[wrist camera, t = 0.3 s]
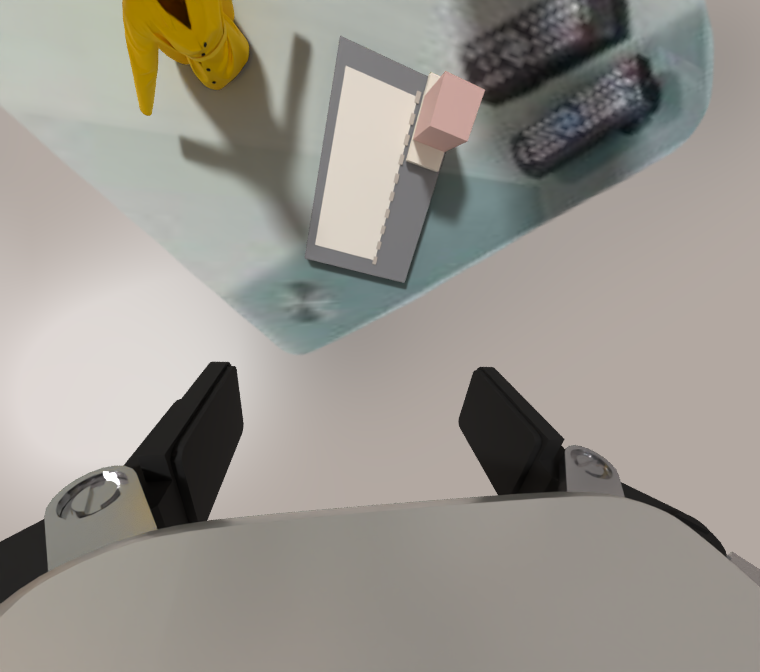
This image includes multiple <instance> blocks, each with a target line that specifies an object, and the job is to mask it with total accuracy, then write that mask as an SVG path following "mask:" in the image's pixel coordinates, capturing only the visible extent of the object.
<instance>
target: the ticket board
mask: <svg viewBox="0 0 760 672" xmlns="http://www.w3.org/2000/svg"><path fill="white" fill-rule="evenodd" d="M427 80H428V76H426V75H423V74H421V73H419V72H417V71H415V70H413V69H411V68H408V67H406V66H404V65H402V64H400V63H398V62H396V61H393V60H391V59H389V58H387V57H385V56H383V55H381V54H378V53H376V52H374V51H372V50H370V49H368V48H366V47H363V46H361V45H359V44H357V43H355V42H353V41H350V40H348V39H346V38H344V37H342V36H340V40H339V47H338V53H337V59H336V65H335V72H334V78H333V84H332V90H331V97H330V103H329V109H328V115H327V122H326V128H325V134H324V140H323V147H322V153H321V159H320V165H319V172H318V178H317V184H316V190H315V197H314V203H313V209H312V215H311V222H310V228H309V234H308V240H307V247H306V253H305V259H309V260H314V261H318V262H322V263H326V264H330V265H334V266H338V267H342V268H346V269H350V270H354V271H358V272H362V273H366V274H370V275H374V276H379V277H383V278H387V279H391V280H395V281H399V282H403V283H405V280H406V277H407V273H408V270H409V267H410V264H411V261H412V258H413V255H414V251H415V248H416V245H417V242H418V239H419V236H420V232H421V229H422V226H423V223H424V220H425V217H426V213H427V210H428V207H429V204H430V201H431V198H432V194H433V191H434V188H435V185H436V182H437V179H438V175H439V172H440V169H441V166H442V163H443V160H444V157H445V153H446V152H444V156H443V159H442V162H441V165H440V168H439V171H438V172H435V171H432V170H429V169H426V168H424V167H421V166H418V165H416V164H413V163H410V162H407V161H406V158H407V154H408V151H409V147H410V143H411V139H412V136H413V132H414V128H415V124H416V121H417V117H418V113H419V110H420V106H421V102H422V98H423V95H424V91H425V87H426V84H427Z"/></svg>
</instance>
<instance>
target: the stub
mask: <svg viewBox="0 0 760 672" xmlns="http://www.w3.org/2000/svg"><path fill="white" fill-rule="evenodd" d="M484 91H485V90H484V89H482V88H480V87H478V86H476V85H474V84H472V83H470V82H468V81H466V80H464V79H461V78H459V77H457V76H455V75H453V74H451V73H449V72H447V71H445V72H444V73H443V75H442V76H438V75H436V74H434V73H432V72H431V73H430V74H429V76H428V80H427V84H426V87H425V91H424V95H423V98H422V102H421V106H420V110H419V113H418V117H417V121H416V124H415V128H414V132H413V136H412V139H411V143H410V147H409V151H408V154H407V158H406V161H407V162H410V163H413V164H416V165H418V166H421V167H424V168H426V169H429V170H432V171H435V172H438V171H439V168H440V165H441V162H442V159H443V156H444V152H446V151H448V150H450V149H452V148H454V147H456V146H459V145H461V144H463V143H465V142H467V141H468V138H469V135H470V132H471V129H472V127H473V124H474V121H475V118H476V115H477V112H478V109H479V106H480V103H481V100H482V97H483V94H484Z"/></svg>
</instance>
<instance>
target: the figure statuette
mask: <svg viewBox="0 0 760 672" xmlns="http://www.w3.org/2000/svg"><path fill="white" fill-rule="evenodd" d="M122 7H123V22H124V28H125V38H126V43H127V48H128V53H129V57H130V63H131V67H132V72H133V76H134V83H135V88H136V92H137V97H138V101H139V107H140V110H141V112H142V113H143V114H145V115H147V116H150V115H151V114H152V109H153V103H154V96H155V87H156V78H157V71H158V49H160V50H161V51H162V52H163V53H165V54H166V55H167V56H168V57H170V58H171V59H173V60H175V61H177V62H179V63H181V64H190V66H191V68H192V70H193V72H194V74H195V75H196V76H197V78H198V79H199V80H200V81H201V82H202V83H203V84H204V85H205V86H206V87H208V88H210V89H214V90H220V89H222V88H223V87H224V86H226V85H227V84H228V83H229V82H230V81H232V80H233V79H234V78H235V77H236V76H237V75H238V74H239V72H240V71H241V69H242V68H243V66H244V65H245V64H246V62H247V61H248V58H249V44H248V42H247V40H246V38H245V37H244V35H243V34H242V33H241V32H240V30H239V29H238V28H237V26H236V25H235V24H234V22H233V21H234V9H233V4H232V0H123V2H122Z"/></svg>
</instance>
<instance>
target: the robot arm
mask: <svg viewBox="0 0 760 672" xmlns="http://www.w3.org/2000/svg"><path fill="white" fill-rule="evenodd" d="M459 427H460V429H461V430H462V432H463V434H464V436H465V437H466V439H467V441H468V443H469V445H470V446H471V448H472V450H473V452H474V453H475V455H476V457H477V458H478V460H479V462H480V464H481V466H482V467H483V469H484V471H485V473H486V475H487V476H488V478H489V480H490V482H491V484H492V485H493V487H494V489H495V491H496V492H497V494H498V495H497V496H484V497H470V498H457V499H444V500H431V501H419V502H407V503H394V504H382V505H371V506H358V507H346V508H335V509H323V510H311V511H300V512H288V513H277V514H267V515H257V516H247V517H238V518H228V519H218V520H209V521H207V520H208V517H209V514H210V512H211V510H212V507H213V504H214V502H215V500H216V497H217V494H218V492H219V489H220V487H221V485H222V482H223V480H224V477H225V475H226V472H227V469H228V467H229V465H230V462H231V460H232V457H233V455H234V452H235V450H236V447H237V445H238V442H239V440H240V437H241V435H242V431H243V416H242V408H241V400H240V392H239V385H238V377H237V369H236V367H235V366H231V364H230V363H229V362H210V363H209V365H208V366H207V367H206V368H205V370H204V371H203V372H202V373H201V375H200V376H199V377H198V378H197V380H196V381H195V382H194V383H193V385H192V386H191V387H190V389H189V390H188V391H187V392H186V394H185V395H184V396H183V397H182V399H179V400H177V401H176V402H175V403H174V404H173V405H172V406H171V407H170V409H169V410H168V411H167V413H166V414H165V415H164V416H163V417H162V419H161V420H160V421H159V422H158V424H157V425H156V426H155V427H154V429H153V430H152V431H151V432H150V433H149V435H148V436H147V437H146V438H145V440H144V441H143V442H142V443H141V445H140V446H139V447H138V448H137V450H136V451H135V452H134V453H133V455H132V456H131V457H130V458H129V460H128V461H127V462H126V463H125V465H124V466H111V467H106V468H101V469H99V470H96V471H93V472H90V473H88V474H86V475H84V476H82V477H80V478H78V479H76V480H75V481H73V482H72V483H70V484H69V485H68V486H66V487H65V488H63V489H62V490H61V491H60V492H59V493H58V494H57V495H56V496H55V497H54V498H53V499H52V500H51V502H50V503H49V505H48V507H47V508H46V512H45V516H44V519H43V520H41V521H39V522H38V523H36V524H34V525H32V526H30V527H28V528H26V529H24V530H22V531H20V532H18V533H16V534H14V535H12V536H11V537H9V538H7V539H5V540H3V541H1V542H0V672H760V569H758V568H757V567H755V566H754V565H752V564H751V563H749V562H747V561H746V560H744V559H743V558H741V557H739V556H738V555H737V554H735V553H733V552H731V553H730V554H729V555H727V554H726V551H725V549H724V547H723V546H722V544H721V542H720V541H719V540H718V539H717V538H716V537H715V536H714V535H713V533H711V532H710V531H709V530H708V529H707V528H706V527H705V526H704V525H703V524H702V523H701V522H699V521H698V520H696V519H695V518H693V517H691V516H689V515H687V514H685V513H683V512H681V511H679V510H677V509H675V508H673V507H671V506H669V505H667V504H665V503H663V502H661V501H658V500H657V499H655V498H652V497H650V496H648V495H646V494H644V493H642V492H640V491H638V490H636V489H634V488H632V487H630V486H628V485H626V484H624V483H621V482H620V479H619V475H618V473H617V471H616V469H615V468H614V467H613V465H612V464H611V463H610V462H608V461H607V460H606V459H605V458H604V457H602V456H601V455H599V454H598V453H596V452H594V451H592V450H590V449H588V448H585V447H582V446H576V445H573V446H568V447H567V448H566V449H564V448H563V447H562V446H561V445H562V443H563V441H564V438H563V437H562V436H561V435H560V434H559V433H558V432H557V431H556V430H555V429H554V428H553V427H552V426H551V425H550V424H549V423H548V422H547V421H546V420H545V419H544V418H543V417H542V416H541V415H540V414H539V413H538V412H537V411H536V410H535V409H534V408H533V407H532V406H531V405H530V404H529V403H528V402H527V401H526V400H525V399H524V398H523V397H522V396H521V395H520V394H519V393H518V392H517V391H516V390H515V388H514V387H512V385H511V384H510V383H509V382H508V381H506V379H505V378H504V377H503V376H502V375H501V374H500V373H499V372H498V371H497V370H496V369H495V368H493V367H479V368H478V369H477V370H476V371H474V372H473V375H472V378H471V381H470V385H469V388H468V391H467V394H466V397H465V400H464V404H463V407H462V410H461V413H460V417H459Z"/></svg>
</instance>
